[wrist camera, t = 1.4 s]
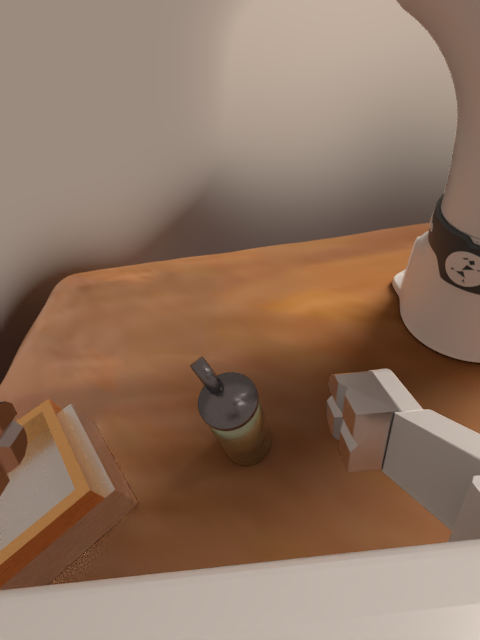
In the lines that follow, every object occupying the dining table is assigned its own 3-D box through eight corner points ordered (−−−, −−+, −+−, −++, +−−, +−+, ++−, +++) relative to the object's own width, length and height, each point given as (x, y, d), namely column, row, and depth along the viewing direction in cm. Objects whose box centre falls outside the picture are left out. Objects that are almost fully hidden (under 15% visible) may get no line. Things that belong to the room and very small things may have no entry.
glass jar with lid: (240, 399, 39) (214, 337, 30) (282, 441, 35) (266, 383, 26) (205, 430, 37) (167, 373, 29) (244, 478, 33) (214, 429, 25)
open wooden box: (85, 407, 43) (48, 375, 37) (138, 503, 34) (100, 481, 28) (-25, 488, 38) (-85, 466, 33) (2, 625, 29) (-74, 626, 24)
